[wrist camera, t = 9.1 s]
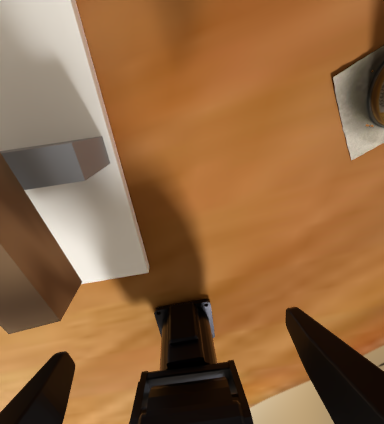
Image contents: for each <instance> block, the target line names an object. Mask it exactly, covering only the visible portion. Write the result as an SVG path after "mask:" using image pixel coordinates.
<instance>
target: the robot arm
mask: <svg viewBox="0 0 384 424" xmlns="http://www.w3.org/2000/svg"><path fill="white" fill-rule="evenodd" d="M154 314H155V318H156V321H157V324H158V327H159V331H160V334H161V337H162V339H161V359H160V371H153V372H148V371H144V372H142V374H141V378H140V382H138V387H137V391H136V396H135V400H134V405H133V409H132V414H131V419H130V422H129V424H253V420H252V416H251V412H250V409H249V405H248V402H247V399H246V396H245V393H244V390H243V387H242V384H241V381H240V378H239V375H238V372H237V369H236V366H235V363H234V360H229V361H228V362H223V363H217V359H216V354H215V349H214V343H213V338H214V337H215V334H214V326H213V319H212V311H211V304H210V301H209V300H208V299H204V300H198V301H192V302H186V303H180V304H175V305H169V306H163V307H157V308H156V309H155V312H154ZM286 326H287V329H288V331H289V334H290V336H291V338H292V340H293V343H294V345H295V347H296V350H297V352H298V354H299V357H300V359H301V361H302V363H303V366H304V368H305V370H306V372H307V374H308V376H309V378H310V380H311V381H312V383H313V385H314V387H315V389H316V390H317V392H318V394H319V396H320V398H321V400H322V401H323V403H324V405H325V407H326V409H327V411H328V412H329V414H330V416H331V418H332V420H333V422H334V424H384V371H382V370H381V369H380V368H378V367H377V366H376V365H374V364H373V363H372V362H370V361H369V360H368V359H366V358H365V357H364V356H362V355H361V354H360V353H358V352H357V351H356V350H354V349H353V348H352V347H350V346H349V345H347V344H346V343H345V342H343V341H342V340H341V339H339V338H338V337H337V336H335V335H334V334H333V333H331V332H330V331H329V330H327V329H326V328H325V327H323V326H322V325H321V324H319V323H318V322H317V321H315V320H314V319H313V318H311V317H310V316H309V315H307V314H306V313H304V312H303V311H302V310H300V309H299V308H297V307H291V308H287V309H286ZM74 371H75V363H74V361H73V360H72V358H71V357H70V355H69V354H68V352H66V351H65V352H59V353H56V354H54V355H53V356H52V357H51V358H50V359H49V360H48V361H47V363H46V364H45V365H44V366H43V367H42V368H41V369H40V370H39V371H38V372H37V373H36V374H35V376H34V377H33V378H32V379H31V380H30V381H29V382H28V383H27V384H26V385H25V386H24V387H23V389H22V390H21V391H20V392H19V393H18V394H17V395H16V396H15V397H14V398H13V399H12V400H11V401H10V403H9V404H8V405H7V406H6V407H5V408H4V409H3V410H2V411H1V412H0V424H62V423H63V419H64V415H65V411H66V407H67V403H68V398H69V394H70V389H71V385H72V380H73V376H74Z"/></svg>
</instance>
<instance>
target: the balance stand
mask: <svg viewBox="0 0 384 424" xmlns="http://www.w3.org/2000/svg"><path fill="white" fill-rule="evenodd" d="M0 153H1V154H2V156H3V158H4V159H5V161H6V162H7V164H8V165H9V167H10V169H11V170H12V172H13V173H14V175H15V176H16V178H17V180H18V181H19V183H20V184H21V186H22V187H23V189H24V191H25V192H26V194H27V195H28V197H29V199H30V200H31V202H32V203H33V205H34V206H35V208H36V210H37V211H38V213H39V214H40V216H41V217H42V219H43V221H44V222H45V224H46V225H47V227H48V228H49V230H50V232H51V233H52V235H53V236H54V238H55V239H56V241H57V243H58V244H59V246H60V247H61V249H62V251H63V252H64V254H65V255H66V257H67V258H68V260H69V262H70V263H71V265H72V266H73V268H74V269H75V271H76V273H77V274H78V276H79V277H80V279H81V280H82V283H81V284H84V283H90V282H96V281H102V280H108V279H114V278H120V277H126V276H132V275H139V274H145V273H149V263H148V259H147V256H146V252H145V248H144V245H143V241H142V238H141V234H140V231H139V227H138V223H137V220H136V216H135V213H134V209H133V205H132V202H131V198H130V195H129V191H128V187H127V184H126V180H125V177H124V173H123V169H122V166H121V162H120V159H119V155H118V152H117V148H116V144H115V141H114V137H113V134H112V130H111V126H110V123H109V119H108V116H107V112H106V108H105V105H104V101H103V98H102V94H101V90H100V87H99V83H98V80H97V76H96V73H95V69H94V65H93V62H92V58H91V55H90V51H89V47H88V44H87V40H86V37H85V33H84V29H83V26H82V22H81V19H80V15H79V11H78V8H77V4H76V1H75V0H0Z"/></svg>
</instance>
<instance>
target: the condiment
mask: <svg viewBox="0 0 384 424" xmlns="http://www.w3.org/2000/svg"><path fill="white" fill-rule="evenodd" d="M372 70H373V72H371V71H372ZM333 81H334V86H335V94H336V98H337V103H338V106H339V113H340V117H341V121H342V125H343V131H344V133H345V137H346V140H347V146H348V149H349V152H350V156H351V160H353V159H355V158H357V157H359V156H361V155H363V154H364V153H366V152H367V151H369V150H372V149H374V148H375V147H377V146H378V145H380V144H382V143H384V45H383V46H382V47H380V48H379V49H377V50H376V51H374V52H372V53H371V54H369V55H368V56H366V57H364V58H363V59H361V60H359V61H358V62H356V63H355V64H353V65H352V66H350V67H349V68H347V69H346V70H344V71H343V72H341V73H339V74H338V75H336V76H335V77H333ZM366 124H369V125H374V127H370V126H369V127H366V126H365V125H366Z"/></svg>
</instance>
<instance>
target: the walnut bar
mask: <svg viewBox="0 0 384 424" xmlns="http://www.w3.org/2000/svg"><path fill="white" fill-rule="evenodd" d="M81 283H82V280H81V279H80V277H79V276H78V274H77V273H76V271H75V269H74V268H73V266H72V265H71V263H70V262H69V260H68V258H67V257H66V255H65V254H64V252H63V251H62V249H61V247H60V246H59V244H58V243H57V241H56V239H55V238H54V236H53V235H52V233H51V232H50V230H49V228H48V227H47V225H46V224H45V222H44V221H43V219H42V217H41V216H40V214H39V213H38V211H37V210H36V208H35V206H34V205H33V203H32V202H31V200H30V199H29V197H28V195H27V194H26V192H25V191H24V189H23V187H22V186H21V184H20V183H19V181H18V180H17V178H16V176H15V175H14V173H13V172H12V170H11V169H10V167H9V165H8V164H7V162H6V161H5V159H4V158H3V156H2V154H1V153H0V326H1V327H2V328H3V329H4V330H5V331H6V332H7V333H8V334H11V333H15V332H19V331H23V330H27V329H31V328H35V327H39V326H42V325H46V324H50V323H54V322H58V321H61V319H62V317H63V315H64V314H65V312H66V310H67V308H68V306H69V305H70V303H71V301H72V299H73V297H74V296H75V294H76V292H77V290H78V288H79V287H80V285H81Z"/></svg>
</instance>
